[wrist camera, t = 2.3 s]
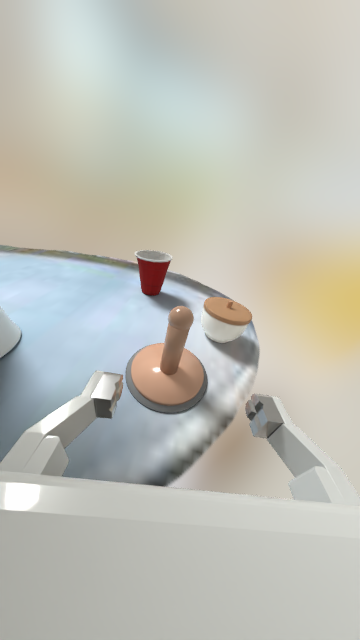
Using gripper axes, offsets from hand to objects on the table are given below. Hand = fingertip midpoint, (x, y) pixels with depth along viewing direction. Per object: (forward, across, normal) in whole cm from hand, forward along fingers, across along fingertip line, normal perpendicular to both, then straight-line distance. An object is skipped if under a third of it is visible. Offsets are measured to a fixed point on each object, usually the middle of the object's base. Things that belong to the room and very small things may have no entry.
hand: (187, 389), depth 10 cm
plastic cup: (+43, +9, +13) cm, 46 cm away
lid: (+12, 0, +13) cm, 18 cm away
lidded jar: (+26, -10, +14) cm, 31 cm away
